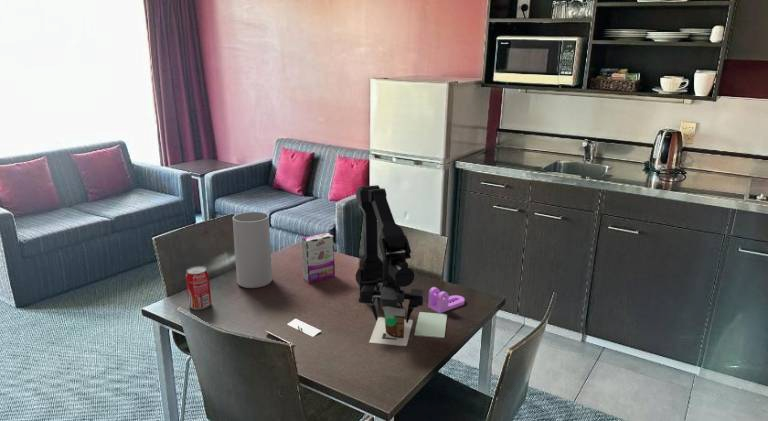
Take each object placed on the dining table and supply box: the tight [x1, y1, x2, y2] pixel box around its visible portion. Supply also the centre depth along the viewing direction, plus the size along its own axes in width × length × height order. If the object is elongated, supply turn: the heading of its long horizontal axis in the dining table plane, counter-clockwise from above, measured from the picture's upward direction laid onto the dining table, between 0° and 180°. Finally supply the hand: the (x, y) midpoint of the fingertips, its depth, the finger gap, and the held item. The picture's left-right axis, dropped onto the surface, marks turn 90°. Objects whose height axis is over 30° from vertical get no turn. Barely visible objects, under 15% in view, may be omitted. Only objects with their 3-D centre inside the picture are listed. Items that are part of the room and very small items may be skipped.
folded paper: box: [264, 318, 322, 346], centre depth 163 cm, size 12×12×2 cm
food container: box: [381, 302, 406, 338], centre depth 164 cm, size 12×6×10 cm, turn 5°
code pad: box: [368, 316, 414, 347], centre depth 165 cm, size 11×16×1 cm
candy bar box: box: [301, 232, 336, 284], centre depth 201 cm, size 11×5×16 cm, turn 123°
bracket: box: [427, 286, 466, 314], centre depth 182 cm, size 13×6×7 cm, turn 127°
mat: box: [413, 311, 448, 339], centre depth 169 cm, size 9×15×1 cm, turn 171°
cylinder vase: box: [232, 211, 273, 289], centre depth 196 cm, size 12×12×25 cm
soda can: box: [185, 265, 212, 311], centre depth 178 cm, size 7×7×13 cm
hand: (391, 321), depth 164 cm, fingers open, 9 cm apart
